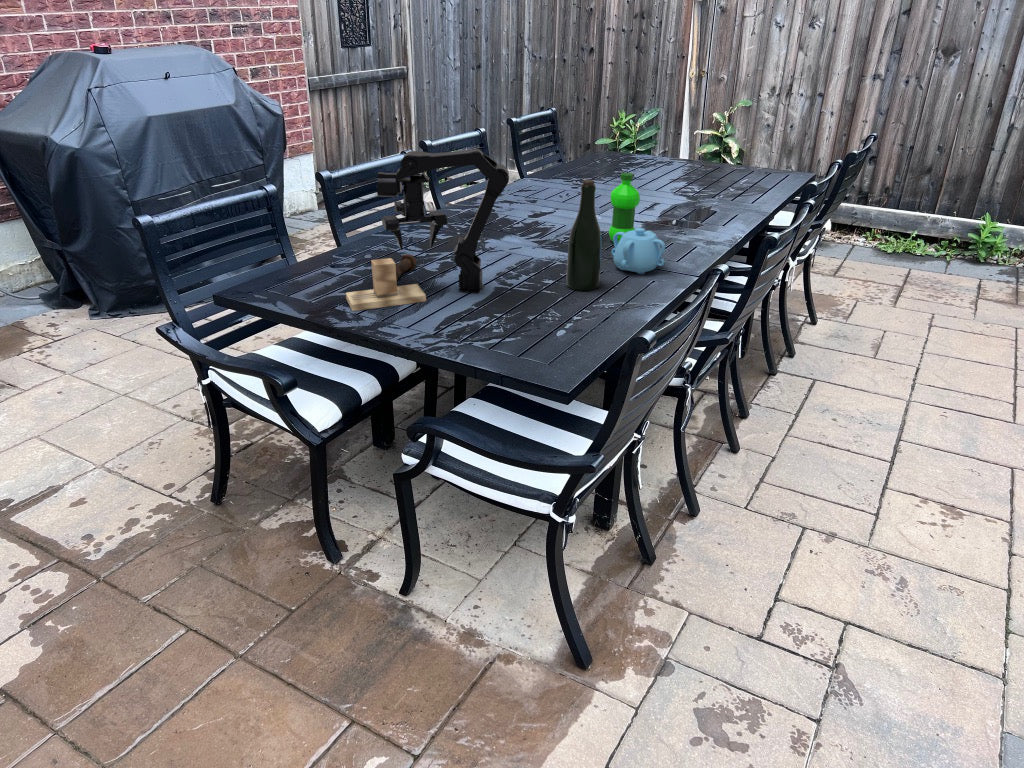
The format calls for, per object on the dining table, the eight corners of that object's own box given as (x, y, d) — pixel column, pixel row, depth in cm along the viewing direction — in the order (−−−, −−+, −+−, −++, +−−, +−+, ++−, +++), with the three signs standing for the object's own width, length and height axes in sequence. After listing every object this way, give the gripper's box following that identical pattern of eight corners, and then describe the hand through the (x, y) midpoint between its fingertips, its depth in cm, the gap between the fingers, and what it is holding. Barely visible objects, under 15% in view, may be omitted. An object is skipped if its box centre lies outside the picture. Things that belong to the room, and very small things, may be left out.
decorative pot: (608, 260, 256) (611, 221, 250) (654, 260, 257) (658, 221, 250) (616, 277, 242) (619, 236, 235) (665, 276, 243) (669, 236, 236)
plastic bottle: (632, 248, 268) (639, 178, 256) (604, 245, 270) (609, 176, 259) (637, 240, 276) (644, 172, 264) (610, 237, 279) (615, 170, 267)
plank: (417, 289, 230) (417, 283, 229) (426, 301, 222) (425, 294, 221) (346, 298, 223) (345, 292, 222) (352, 311, 214) (351, 304, 214)
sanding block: (393, 289, 224) (391, 257, 219) (397, 295, 220) (395, 263, 215) (373, 292, 222) (371, 260, 217) (377, 298, 218) (374, 265, 213)
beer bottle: (603, 290, 231) (610, 184, 215) (570, 292, 229) (575, 185, 213) (594, 279, 240) (601, 175, 224) (562, 280, 238) (567, 176, 222)
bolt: (384, 288, 236) (408, 272, 248) (396, 283, 233) (420, 266, 245) (375, 272, 234) (400, 256, 246) (386, 266, 232) (411, 251, 243)
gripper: (436, 187, 227) (438, 237, 234) (376, 192, 221) (380, 243, 228) (447, 196, 218) (448, 248, 225) (384, 202, 212) (388, 254, 219)
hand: (416, 248), depth 225 cm, fingers open, 9 cm apart
